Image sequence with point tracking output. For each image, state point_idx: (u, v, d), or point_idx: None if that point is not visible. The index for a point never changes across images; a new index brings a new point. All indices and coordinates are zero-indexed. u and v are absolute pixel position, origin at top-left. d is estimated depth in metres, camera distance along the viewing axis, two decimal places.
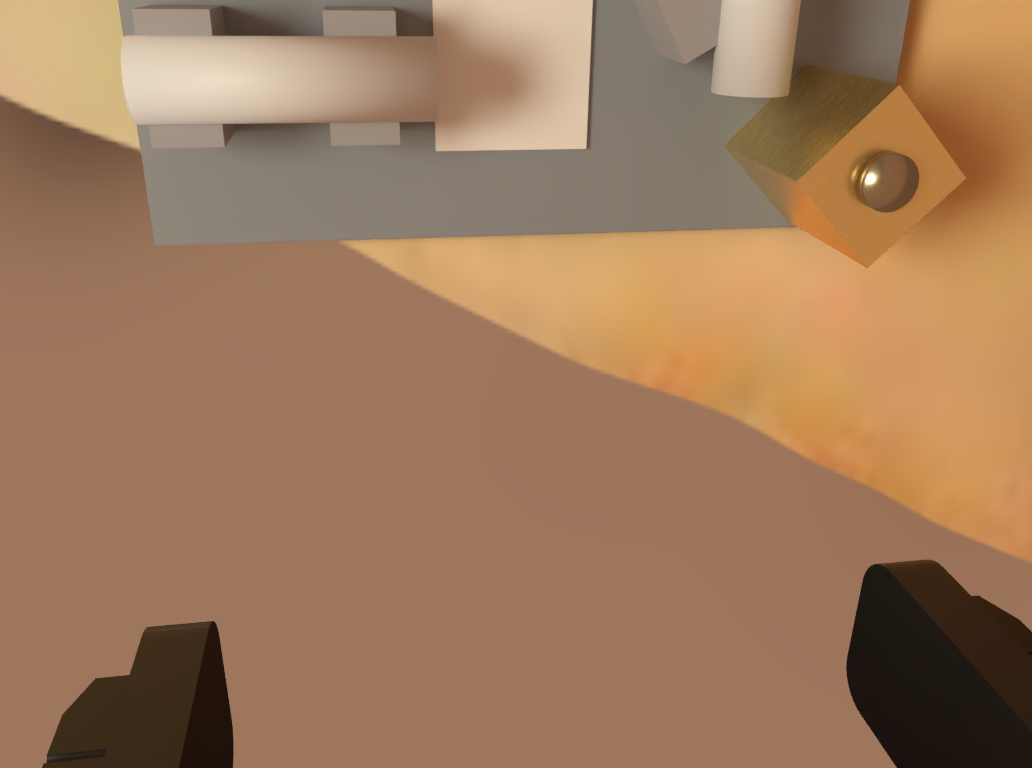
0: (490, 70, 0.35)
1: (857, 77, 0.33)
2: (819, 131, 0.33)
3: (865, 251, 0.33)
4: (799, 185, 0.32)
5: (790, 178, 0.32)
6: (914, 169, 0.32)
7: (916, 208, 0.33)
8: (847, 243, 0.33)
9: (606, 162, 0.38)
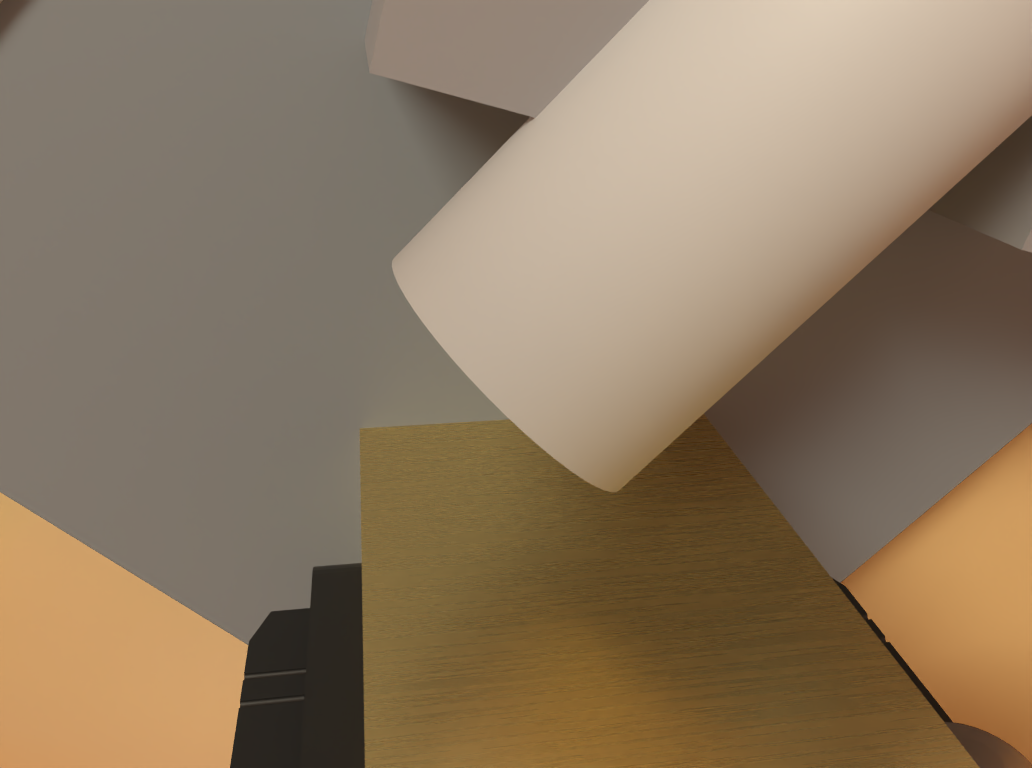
0: None
1: (845, 607, 0.09)
2: (622, 721, 0.07)
3: None
4: None
5: None
6: None
7: None
8: None
9: None
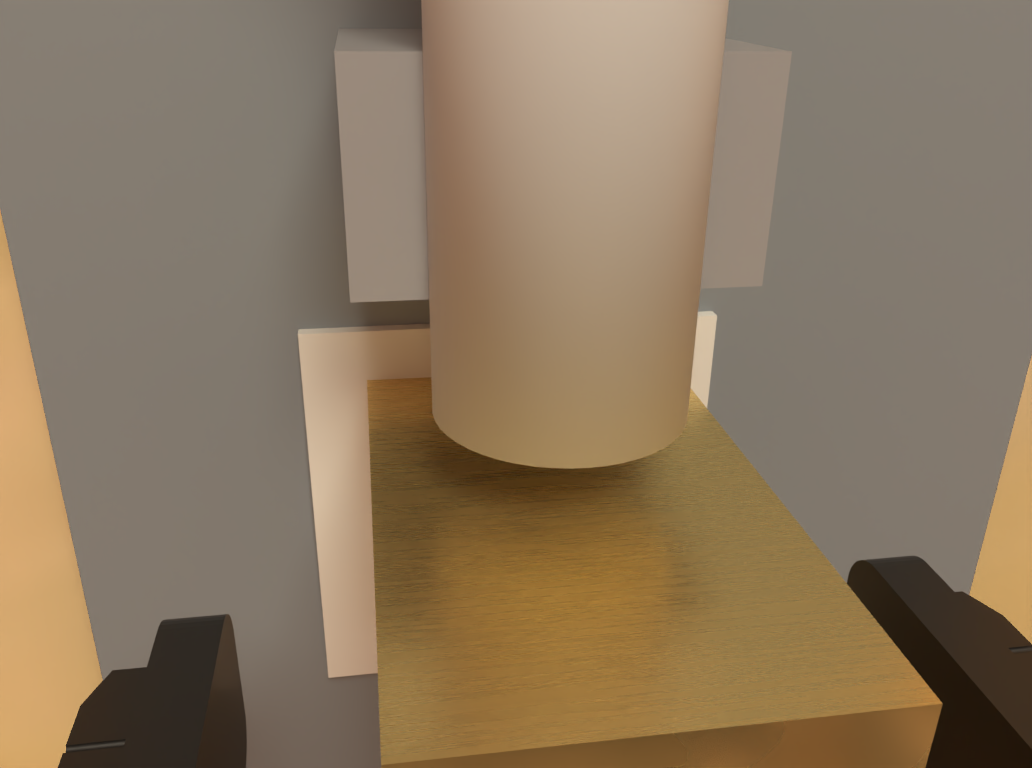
0: None
1: (789, 521, 0.10)
2: (591, 604, 0.09)
3: None
4: None
5: (381, 710, 0.07)
6: None
7: None
8: None
9: (296, 715, 0.16)
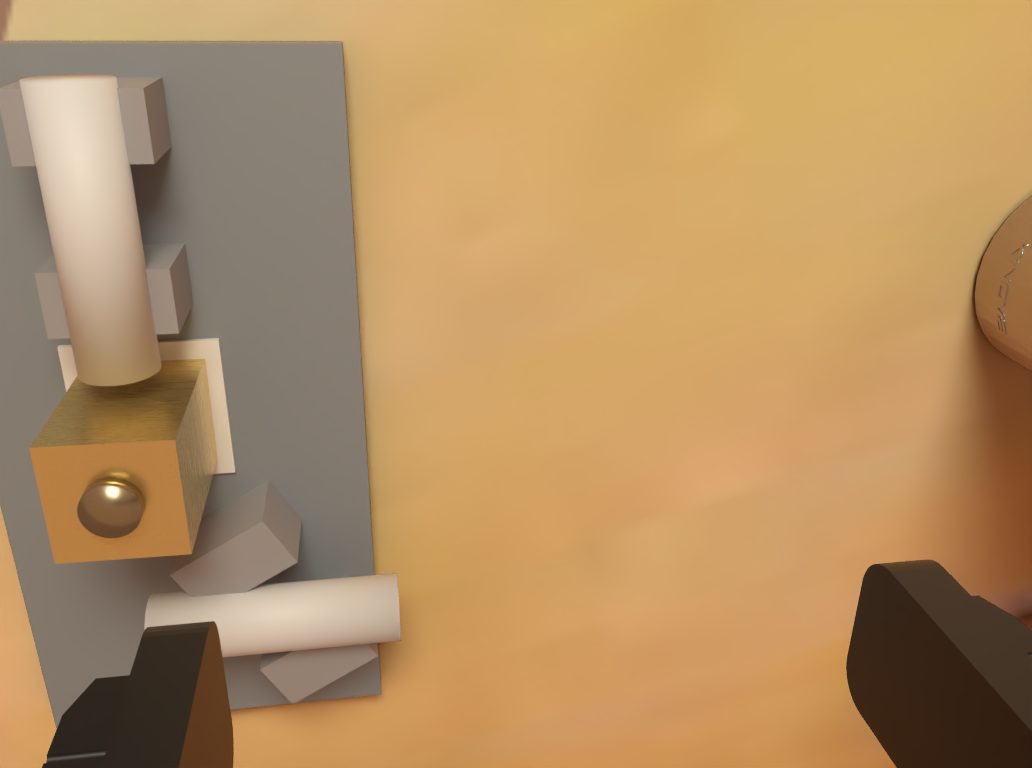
0: None
1: (185, 404, 0.33)
2: (106, 422, 0.32)
3: (61, 549, 0.32)
4: (31, 452, 0.30)
5: (35, 440, 0.30)
6: (137, 515, 0.31)
7: (131, 547, 0.32)
8: (48, 531, 0.31)
9: None
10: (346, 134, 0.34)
